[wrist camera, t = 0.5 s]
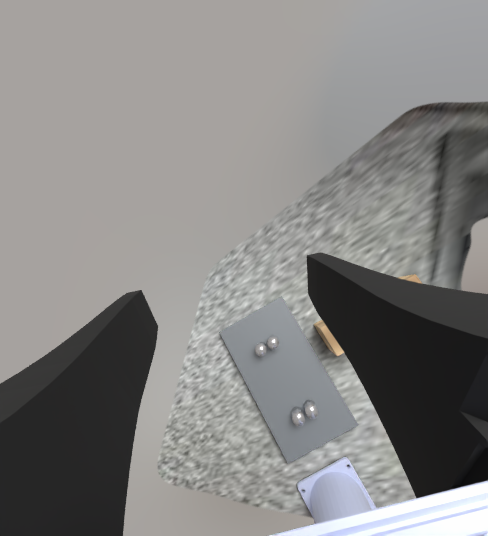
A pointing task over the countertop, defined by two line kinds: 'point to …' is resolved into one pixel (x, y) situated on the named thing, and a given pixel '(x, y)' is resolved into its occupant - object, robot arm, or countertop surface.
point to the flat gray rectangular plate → (287, 380)
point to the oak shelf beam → (329, 338)
